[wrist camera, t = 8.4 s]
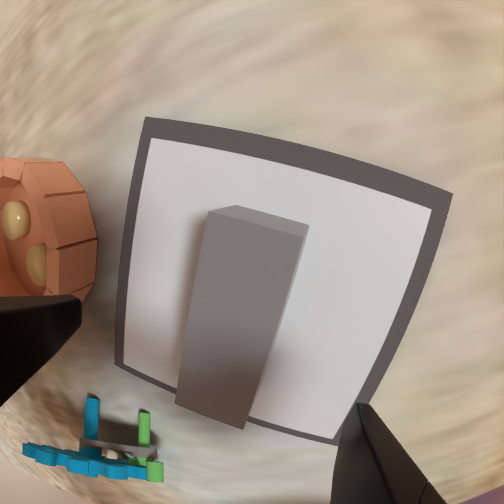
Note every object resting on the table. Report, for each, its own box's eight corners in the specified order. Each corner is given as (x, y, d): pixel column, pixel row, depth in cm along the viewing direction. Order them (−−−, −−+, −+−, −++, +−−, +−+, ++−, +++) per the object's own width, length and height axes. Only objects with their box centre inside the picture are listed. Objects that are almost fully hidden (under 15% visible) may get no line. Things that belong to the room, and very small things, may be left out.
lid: (427, 208, 11) (461, 217, 8) (333, 431, 14) (329, 481, 11) (158, 139, 13) (109, 129, 10) (129, 358, 16) (92, 390, 13)
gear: (82, 465, 20) (-4, 452, 12) (84, 405, 23) (2, 374, 15) (196, 483, 18) (122, 498, 10) (194, 412, 22) (123, 387, 14)
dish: (107, 171, 15) (66, 171, 12) (93, 335, 17) (62, 356, 15) (12, 152, 17) (-21, 153, 14) (7, 282, 19) (-21, 292, 16)
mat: (449, 193, 11) (452, 193, 11) (341, 442, 15) (341, 446, 14) (149, 118, 14) (145, 116, 13) (118, 361, 17) (114, 364, 17)
